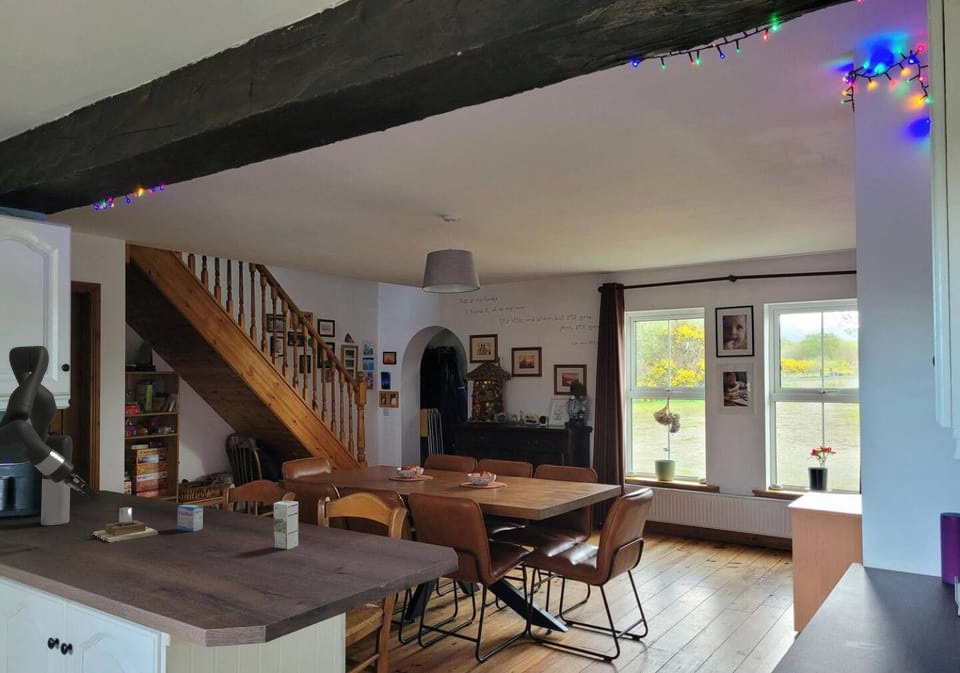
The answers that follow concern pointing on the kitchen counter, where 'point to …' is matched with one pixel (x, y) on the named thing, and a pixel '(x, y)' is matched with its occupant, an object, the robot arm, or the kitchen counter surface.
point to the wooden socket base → (124, 531)
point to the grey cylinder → (125, 516)
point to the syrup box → (285, 524)
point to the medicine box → (190, 518)
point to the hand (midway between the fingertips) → (91, 495)
